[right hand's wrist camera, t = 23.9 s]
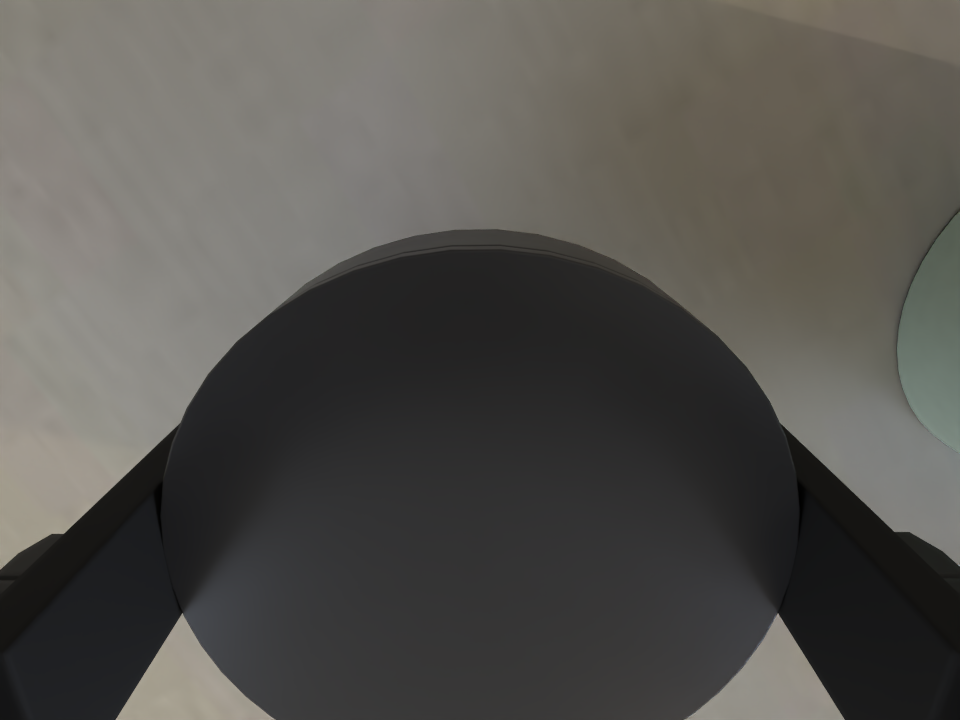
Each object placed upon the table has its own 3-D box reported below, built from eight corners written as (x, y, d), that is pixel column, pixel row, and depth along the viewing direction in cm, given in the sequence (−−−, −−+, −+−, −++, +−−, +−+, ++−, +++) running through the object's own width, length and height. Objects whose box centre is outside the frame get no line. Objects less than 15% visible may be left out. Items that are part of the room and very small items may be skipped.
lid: (622, 737, 15) (643, 827, 13) (175, 630, 14) (125, 712, 12) (853, 335, 11) (931, 377, 9) (267, 141, 10) (216, 141, 8)
